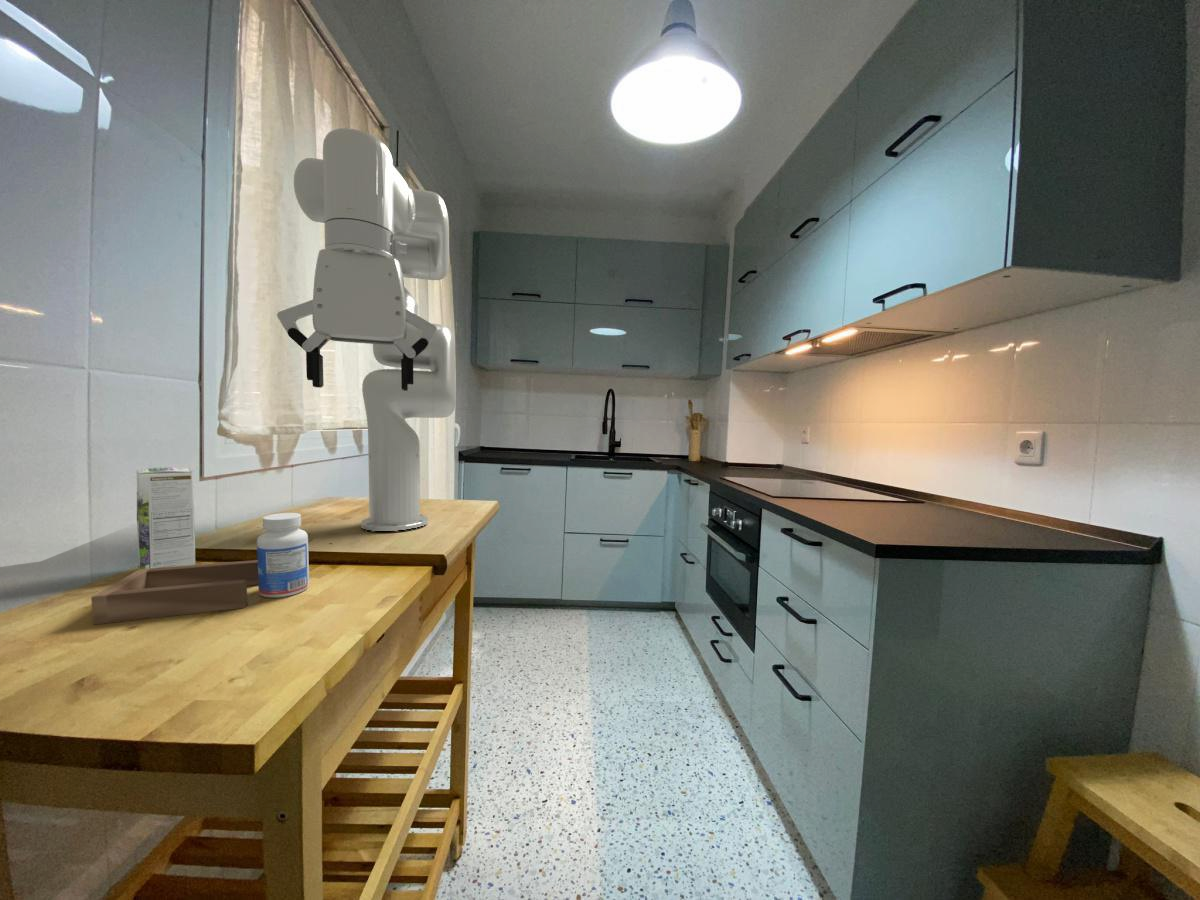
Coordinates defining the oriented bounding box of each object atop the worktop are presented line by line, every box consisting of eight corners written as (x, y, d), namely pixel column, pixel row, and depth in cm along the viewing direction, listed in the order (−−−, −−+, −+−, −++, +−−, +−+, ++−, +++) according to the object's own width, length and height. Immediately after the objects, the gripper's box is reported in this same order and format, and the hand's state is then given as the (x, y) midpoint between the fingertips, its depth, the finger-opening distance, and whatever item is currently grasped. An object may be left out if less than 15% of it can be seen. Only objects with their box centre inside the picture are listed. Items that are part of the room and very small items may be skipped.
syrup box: (137, 570, 66) (132, 468, 65) (192, 561, 71) (188, 466, 70) (140, 580, 62) (135, 472, 61) (198, 570, 67) (194, 469, 66)
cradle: (140, 592, 58) (139, 569, 58) (267, 581, 63) (266, 559, 63) (92, 624, 49) (91, 596, 49) (244, 607, 54) (243, 582, 54)
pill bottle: (264, 586, 61) (262, 512, 61) (312, 581, 63) (310, 510, 63) (252, 601, 56) (250, 521, 56) (305, 595, 58) (303, 518, 58)
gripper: (434, 266, 64) (434, 392, 65) (283, 245, 57) (287, 387, 58) (437, 248, 57) (438, 390, 58) (267, 223, 50) (272, 384, 51)
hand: (362, 388), depth 58 cm, fingers open, 9 cm apart
